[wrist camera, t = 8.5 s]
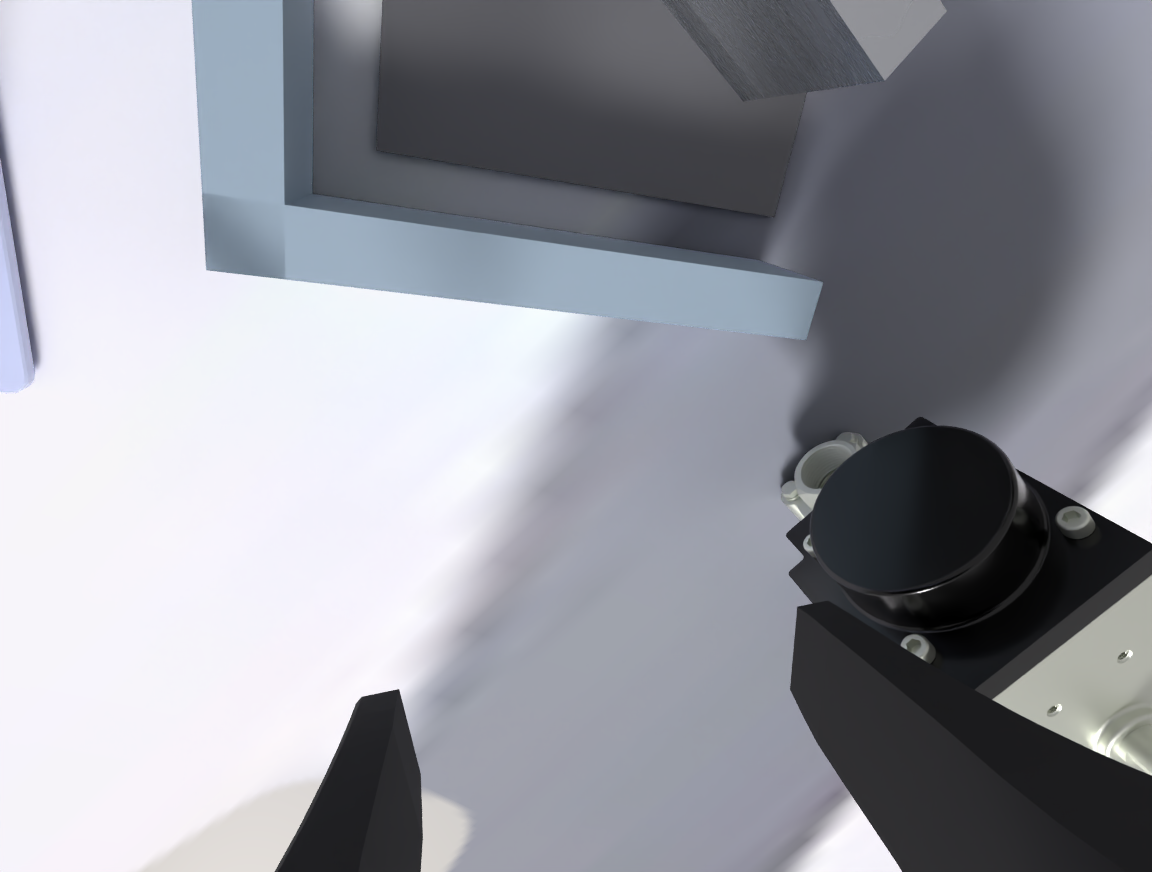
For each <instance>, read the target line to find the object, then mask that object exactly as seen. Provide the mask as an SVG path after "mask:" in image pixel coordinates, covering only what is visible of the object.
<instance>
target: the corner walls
mask: <svg viewBox="0 0 1152 872" xmlns="http://www.w3.org/2000/svg"><path fill="white" fill-rule="evenodd" d="M192 15H193V34H194V52H195V71H196V89H197V108H198V126H199V145H200V163H201V181H202V200H203V218H204V237H205V255H206V270H210V271H218V272H227V273H235V274H244V275H253V276H261V277H270V278H278V279H287V280H295V281H304V282H312V283H321V284H330V285H338V286H347V287H355V288H364V289H372V290H381V291H389V292H398V293H407V294H415V295H424V296H432V297H441V298H449V299H458V300H466V301H475V302H484V303H492V304H501V305H509V306H518V307H526V308H535V309H543V310H552V311H560V312H569V313H578V314H586V315H595V316H603V317H612V318H620V319H629V320H637V321H646V322H655V323H663V324H672V325H680V326H689V327H697V328H706V329H714V330H723V331H732V332H740V333H749V334H757V335H766V336H774V337H783V338H791V339H800V340H806V339H807V335H808V332H809V329H810V325H811V322H812V319H813V315H814V312H815V309H816V305H817V302H818V299H819V295H820V292H821V289H822V285H823V282H822V281H819V280H816V279H813V278H810V277H807V276H804V275H801V274H799V273H796V272H793V271H790V270H787V269H784V268H781V267H778V266H775V265H772V264H769V263H766V262H763V261H761V260H755V259H748V258H741V257H735V256H728V255H721V254H715V253H708V252H701V251H694V250H688V249H681V248H674V247H667V246H661V245H654V244H647V243H641V242H634V241H627V240H620V239H614V238H607V237H600V236H594V235H587V234H580V233H573V232H567V231H560V230H553V229H546V228H540V227H533V226H526V225H520V224H513V223H506V222H499V221H493V220H486V219H479V218H473V217H466V216H459V215H452V214H446V213H439V212H432V211H425V210H419V209H412V208H405V207H399V206H392V205H385V204H378V203H372V202H365V201H358V200H351V199H345V198H338V197H331V196H325V195H318V194H313V35H314V0H192Z"/></svg>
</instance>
